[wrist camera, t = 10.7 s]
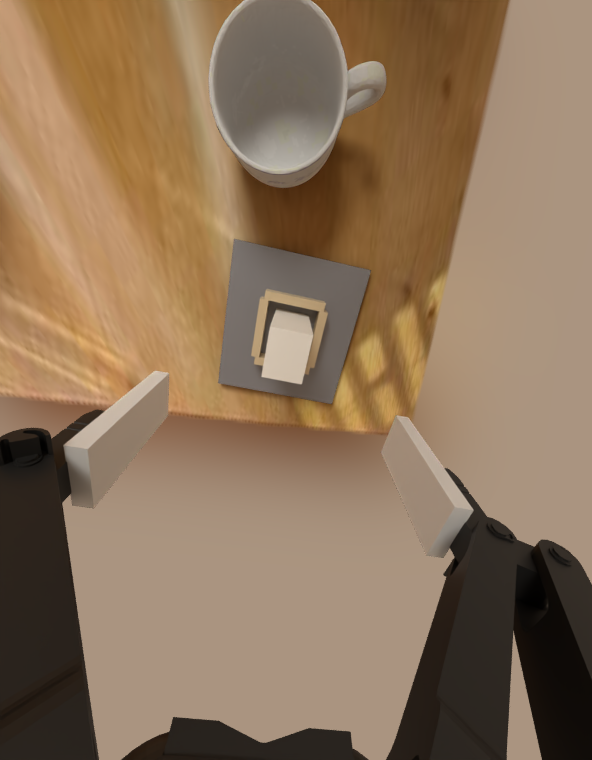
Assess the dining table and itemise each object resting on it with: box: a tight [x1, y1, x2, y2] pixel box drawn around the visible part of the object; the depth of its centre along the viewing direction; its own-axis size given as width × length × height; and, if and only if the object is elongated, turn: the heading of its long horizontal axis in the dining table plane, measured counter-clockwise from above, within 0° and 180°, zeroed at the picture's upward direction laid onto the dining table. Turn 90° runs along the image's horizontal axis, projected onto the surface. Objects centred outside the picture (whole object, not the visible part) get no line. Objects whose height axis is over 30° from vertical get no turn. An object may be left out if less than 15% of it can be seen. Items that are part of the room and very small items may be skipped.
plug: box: [261, 309, 313, 384], centre depth 31 cm, size 5×4×10 cm
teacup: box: [209, 0, 386, 188], centre depth 25 cm, size 14×11×8 cm
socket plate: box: [218, 239, 371, 404], centre depth 35 cm, size 18×16×3 cm
